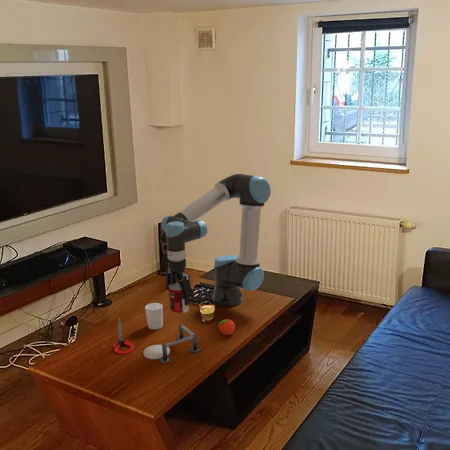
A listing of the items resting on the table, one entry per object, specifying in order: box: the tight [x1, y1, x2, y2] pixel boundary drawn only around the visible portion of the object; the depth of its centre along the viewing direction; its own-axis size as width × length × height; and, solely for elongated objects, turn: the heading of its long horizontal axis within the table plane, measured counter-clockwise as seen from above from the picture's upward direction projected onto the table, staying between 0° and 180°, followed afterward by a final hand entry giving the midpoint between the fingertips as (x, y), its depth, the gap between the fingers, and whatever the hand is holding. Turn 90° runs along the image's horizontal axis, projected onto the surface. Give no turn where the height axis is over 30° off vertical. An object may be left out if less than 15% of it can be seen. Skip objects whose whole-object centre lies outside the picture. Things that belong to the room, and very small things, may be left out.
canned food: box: [168, 282, 183, 314], centre depth 234 cm, size 8×8×11 cm
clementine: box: [217, 318, 236, 336], centre depth 241 cm, size 8×7×7 cm
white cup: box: [144, 302, 164, 330], centre depth 251 cm, size 8×8×10 cm
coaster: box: [142, 344, 171, 360], centre depth 229 cm, size 11×11×1 cm
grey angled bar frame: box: [159, 323, 202, 364], centre depth 230 cm, size 18×16×7 cm
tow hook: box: [113, 318, 135, 356], centre depth 231 cm, size 8×13×9 cm
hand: (179, 308), depth 236 cm, fingers closed on canned food, 8 cm apart
